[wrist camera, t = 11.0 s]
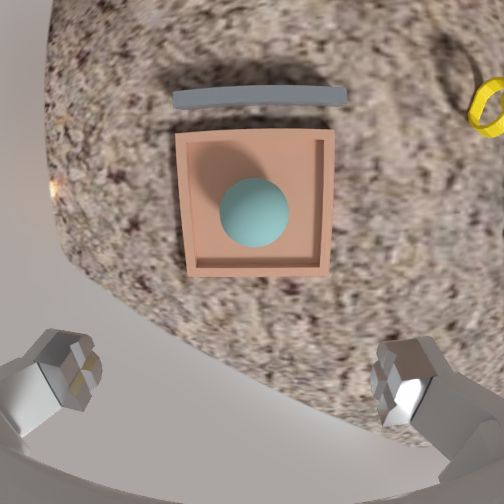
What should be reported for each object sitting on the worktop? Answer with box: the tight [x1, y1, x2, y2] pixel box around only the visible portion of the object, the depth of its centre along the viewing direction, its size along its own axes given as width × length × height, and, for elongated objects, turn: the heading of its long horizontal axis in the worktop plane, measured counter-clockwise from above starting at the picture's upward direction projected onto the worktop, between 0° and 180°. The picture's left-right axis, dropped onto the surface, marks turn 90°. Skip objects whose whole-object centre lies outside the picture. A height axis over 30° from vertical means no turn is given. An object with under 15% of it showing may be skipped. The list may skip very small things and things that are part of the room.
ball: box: [219, 178, 289, 247], centre depth 22 cm, size 5×5×5 cm
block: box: [173, 85, 347, 110], centre depth 20 cm, size 1×12×3 cm, turn 91°
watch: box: [468, 77, 504, 138], centre depth 18 cm, size 6×3×6 cm, turn 155°
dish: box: [175, 129, 335, 277], centre depth 25 cm, size 12×12×1 cm
